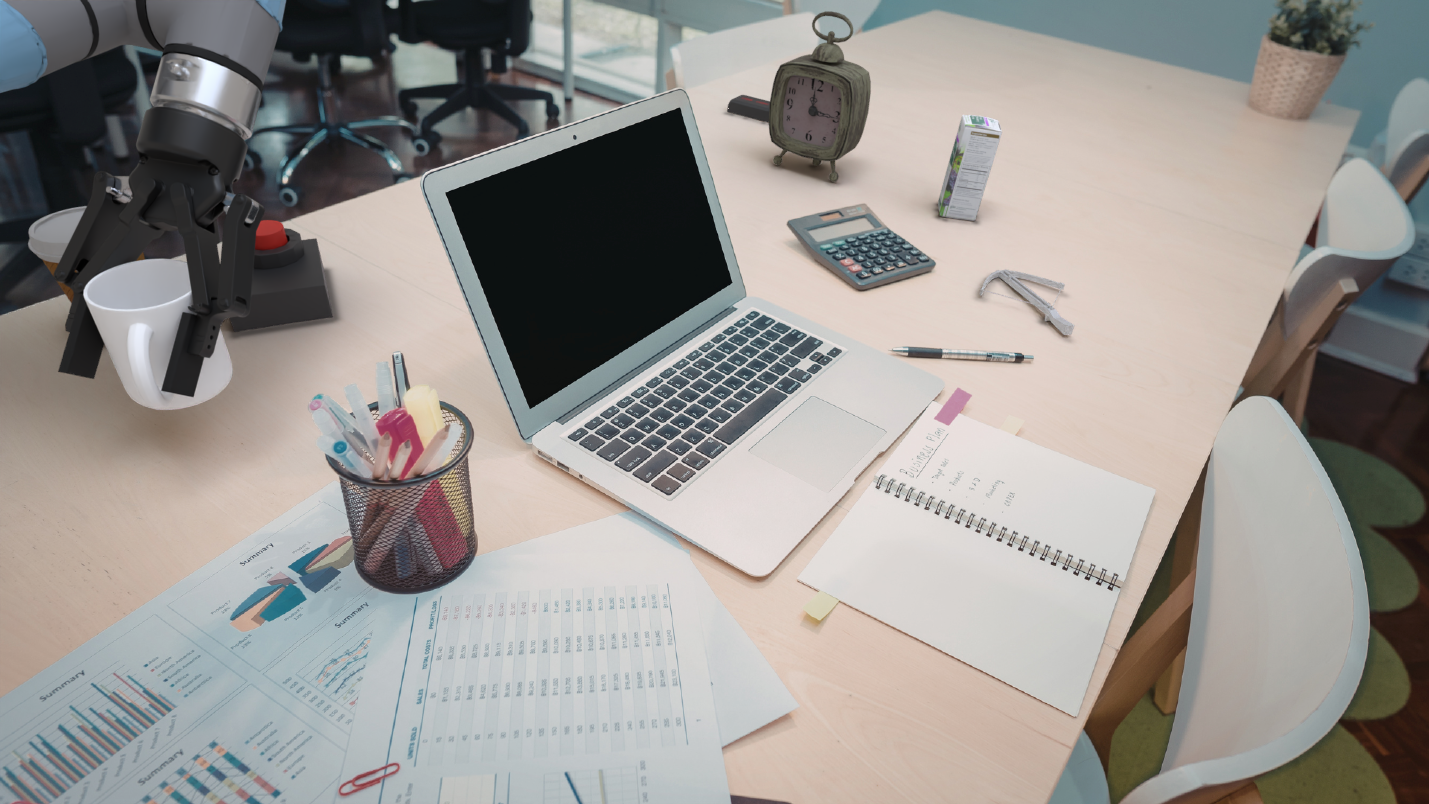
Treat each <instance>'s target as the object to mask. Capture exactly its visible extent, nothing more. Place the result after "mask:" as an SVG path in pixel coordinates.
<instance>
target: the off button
mask: <svg viewBox="0 0 1429 804" xmlns="http://www.w3.org/2000/svg"><path fill="white" fill-rule="evenodd" d="M284 226H285V225H284V224H283V223H282V222H281V221H279V220H273V219H264V220H261V222H260V224H259V226H258V229H257V231H256V242H255V250H270V249H276V248H278V247H281V246H284V245H285V244H286V243H288V241H287V237H286V234H285V230H284V228H285V227H284Z"/></svg>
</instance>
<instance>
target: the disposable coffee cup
mask: <svg viewBox="0 0 1429 804" xmlns="http://www.w3.org/2000/svg"><path fill="white" fill-rule="evenodd" d="M86 207H87V205H84V206H83V205H82V206H78V207H71V208H66V209H63V210H59V211H56V212H53V213H50V214H48V215H47V214H46V215H45V216H43V217H41V218H39V219H37V220H36V221H34V222H33V223H32V224H31V225H30V227H28V228H29V229H28V237H29V239H28V241H27V242H28V243H27V245H28V246H27V247H28V249H29V250H30V251H31V252H33V254H34V255H36V256H37V257H38V258H39V259H41V260H42V261H43V264H44V265H45V266H46V268H47V270H49V273H50V274H51V275H52V277H54V272H55V270H56V268H57V266H58V264H59V262H60V260H61V257H62V255H63V253H64V251H65V249H66V247H67V245H68V243H69V241H70V239H71V237H72V235H73V233H74V231H75V229H76V227H77V225H78V223H79V221H80V219H81V217H82V215H83V213H84V211H85V209H86ZM139 260H146V258H145V253H144V251H143V252H142V254H141V255H140V256H139V258H138V259H137V260H136V261H139ZM75 272H77V271H76V270H75ZM56 282H57V285H58V286H59V287H60V288H61V290H62V291H63V293H64V295H65V296H66V298H67V299H68V301H69V302H70V305H71V304H72V300H73V296H74V293H73V290H72V289H71V288H69V287H68V286H66V285H65V284H63V283H61V282H58V281H56Z"/></svg>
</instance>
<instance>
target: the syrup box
mask: <svg viewBox="0 0 1429 804" xmlns="http://www.w3.org/2000/svg"><path fill="white" fill-rule="evenodd" d="M1002 134H1003V130H1002V127H1001V123H1000V121H999V120H998V119H995V118H992V117H988V116H982V115H974V114H962V115H961V118H960V122H959V125H958V128H957V132H956V136H955V139H954V142H953V146H952V150H951V153H950V156H949V161H948V164H947V167H946V171H945V175H944V178H943V180H942V181H943V182H942V185H941V189H940V193H939V197H938V201H937V206H938V207H937V208H938V212H939V213H938V215H939V217H943V218H948V219H957V220H965V221H973V222H975V221H976V219H977V216H978V212H979V209H980V206H981V203H982V199H983V197H984V193H985V190H986V186H987V183H988V180H989V177H990V173H991V170H992V167H993V164H994V161H995V157H996V154H997V151H998V148H999V145H1000V144H999V143H1000V141H1001V137H1002Z"/></svg>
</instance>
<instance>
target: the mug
mask: <svg viewBox="0 0 1429 804" xmlns="http://www.w3.org/2000/svg"><path fill="white" fill-rule="evenodd" d="M83 295H84V299H85V301H86V303H87V305H88V308H89V310H90V312H91V314H92V317H93V319H94V321H95V323H96V326H97V328H98V330H99V332H100V335H101V337H102V339H103V341H104V347H105V349H106V351H107V354H108V355H109V357H110V360H111V361H112V364H113V366H114V368H115V371H116V373H117V375H118V378H119V380H120V382H121V384H122V386H123V388H124V390H125V392H126V393H127V395H128V396H129V398H130V399H131V400H132V401H134V402H135V403H137V404H138V405H140V406H141V407H142V406H143V407H146V408H149V409H152V410H157V411H160V410H161V411H162V410H163V411H169V410H170V411H171V410H173V411H174V410H181V409H187V408H191V407H194V406H197V405H200V404H203V403H205V402H207V401H210V400H211V399H213V398H214V397H217V395H219V394H220V393H222V392H223V391H224V389H226V388H227V386H228V385H229V384H230V382H231V380H232V377H233V372H234V369H233V363H232V359H231V356H230V352H229V350H228V347H227V344H226V341H225V337H224V335H223V332H222V328H220V331H219V335H218V338H217V341H216V345H215V349H214V353H213V354H212V356H211V357H210V358H206V357H204V361H203V364H202V368H201V372H200V375H199V379H198V383H197V387H196V390H195V394H194V397H189V396H184V395H179V394H174V393H169V392H165V391H161V389H162V386H163V382H164V378H165V375H166V371H167V367H168V364H169V360H170V356H171V353H172V349H173V345H174V342H175V338H176V335H177V331H178V327H179V324H180V320H181V316H182V313H183V312H186V313H191V314H194V315H197V313H195V312H192V311H190V310H189V309H188V306H190V307H191V305H193V298H192V292H191V285H190V278H189V272H188V265H187V261H184V260H180V259H174V258H148V259H145V260H139V261H134V262H129V263H125V264H122V265H118V266H116V267H113V268H111V269H108V270H106V271H104V272H102V273H100V274H98V275H97V276H95V277H94V278H93V279H91V280H90V281H89V282H88V283H87V285H86V286H85V289H84V294H83Z"/></svg>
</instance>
